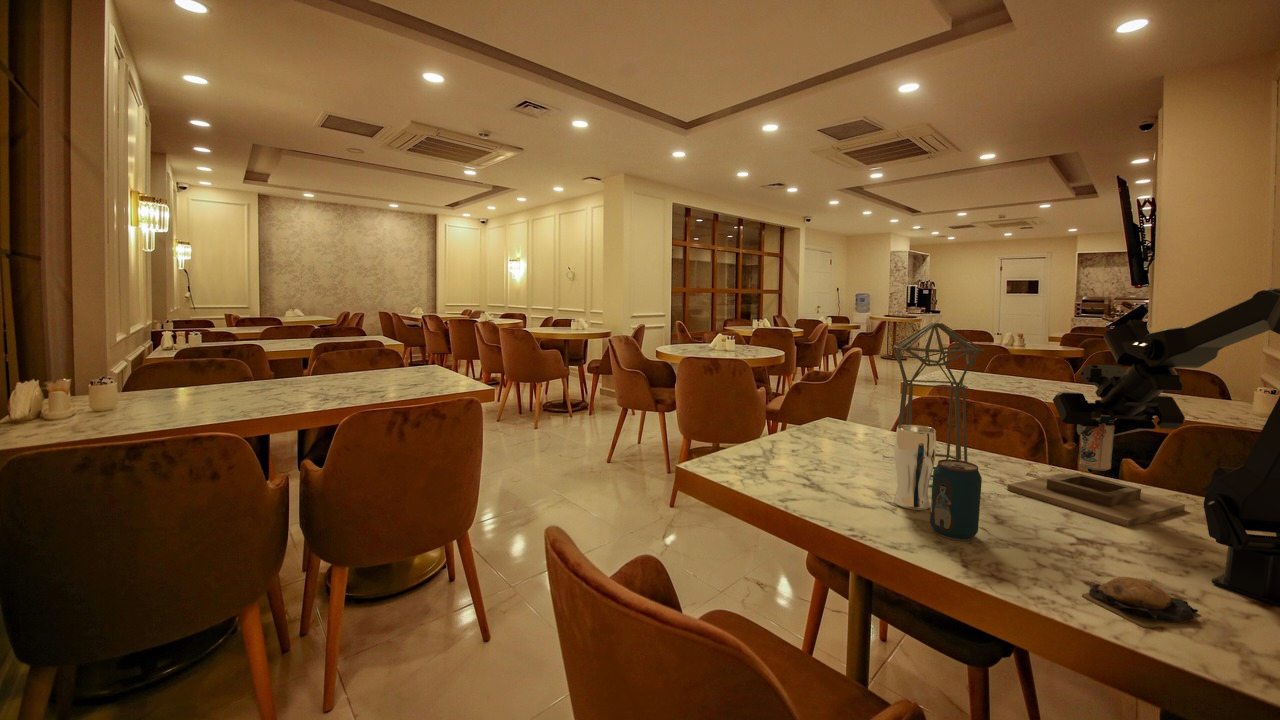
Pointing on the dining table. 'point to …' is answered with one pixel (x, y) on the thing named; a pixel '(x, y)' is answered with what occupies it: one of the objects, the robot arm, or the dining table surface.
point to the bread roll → (1140, 602)
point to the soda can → (955, 499)
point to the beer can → (1098, 445)
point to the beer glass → (914, 465)
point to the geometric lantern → (967, 349)
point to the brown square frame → (1098, 498)
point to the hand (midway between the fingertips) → (1093, 433)
